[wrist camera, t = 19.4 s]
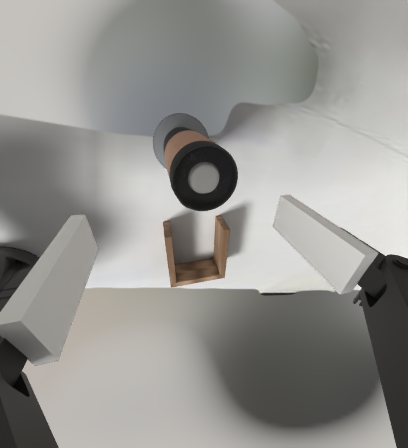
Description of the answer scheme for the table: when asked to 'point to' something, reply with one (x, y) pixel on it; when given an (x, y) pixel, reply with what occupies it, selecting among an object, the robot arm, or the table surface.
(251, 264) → the table surface
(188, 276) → the frame
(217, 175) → the travel mug
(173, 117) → the coaster
